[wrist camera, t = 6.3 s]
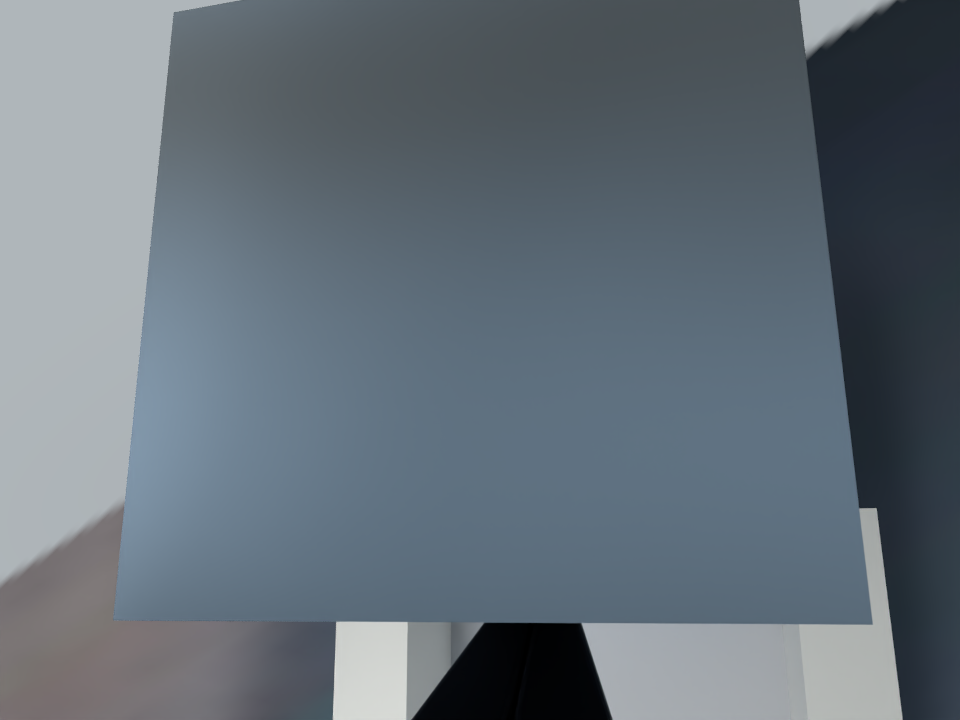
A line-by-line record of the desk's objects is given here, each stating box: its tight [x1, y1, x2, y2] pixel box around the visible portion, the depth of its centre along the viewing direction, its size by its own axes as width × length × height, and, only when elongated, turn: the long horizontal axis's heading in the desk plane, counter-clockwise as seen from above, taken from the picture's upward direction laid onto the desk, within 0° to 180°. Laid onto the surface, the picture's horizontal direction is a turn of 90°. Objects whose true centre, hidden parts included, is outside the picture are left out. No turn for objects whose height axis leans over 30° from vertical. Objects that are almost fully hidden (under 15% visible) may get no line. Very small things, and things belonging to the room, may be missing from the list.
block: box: [113, 0, 873, 625], centre depth 11 cm, size 5×5×10 cm
